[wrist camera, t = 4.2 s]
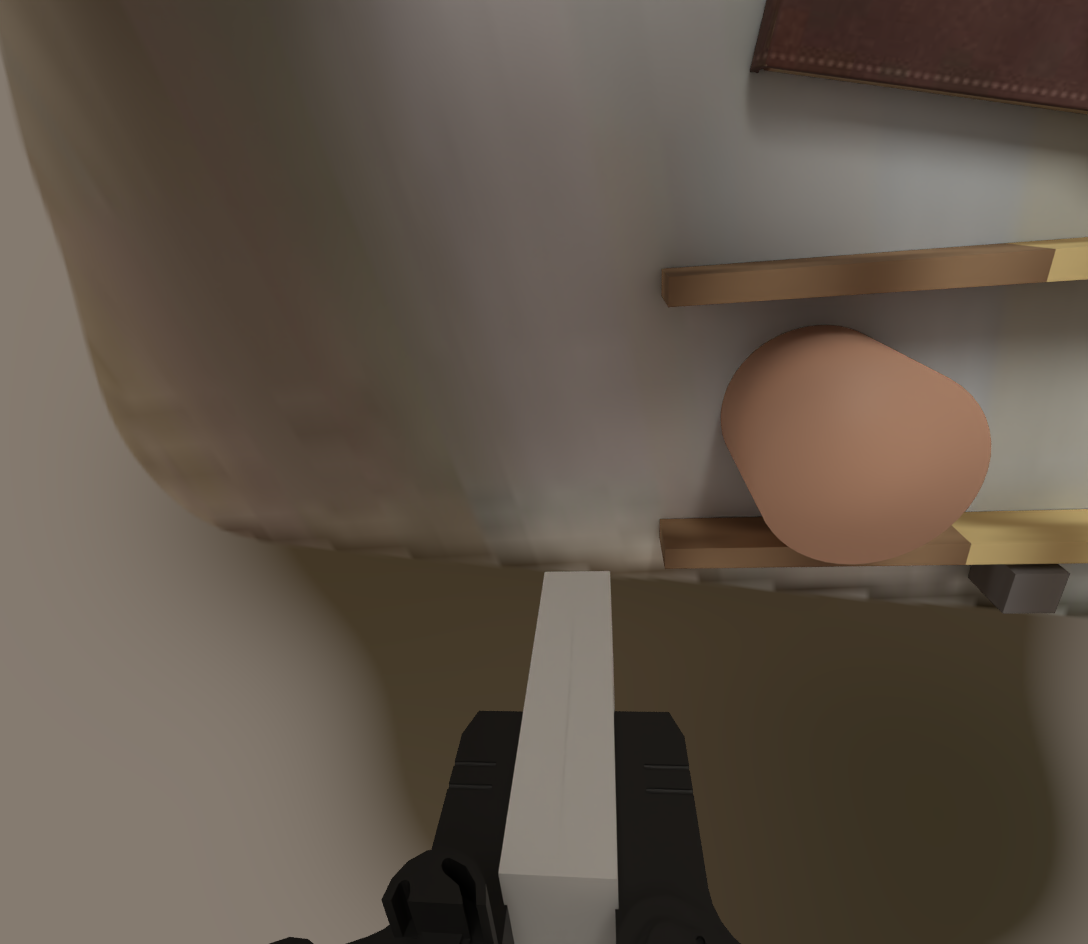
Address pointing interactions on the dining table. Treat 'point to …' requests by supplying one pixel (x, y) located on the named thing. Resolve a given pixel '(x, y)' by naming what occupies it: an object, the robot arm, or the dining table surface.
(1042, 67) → the notebook
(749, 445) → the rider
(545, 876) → the robot arm
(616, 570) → the dining table surface
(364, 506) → the dining table surface
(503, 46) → the dining table surface
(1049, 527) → the track
